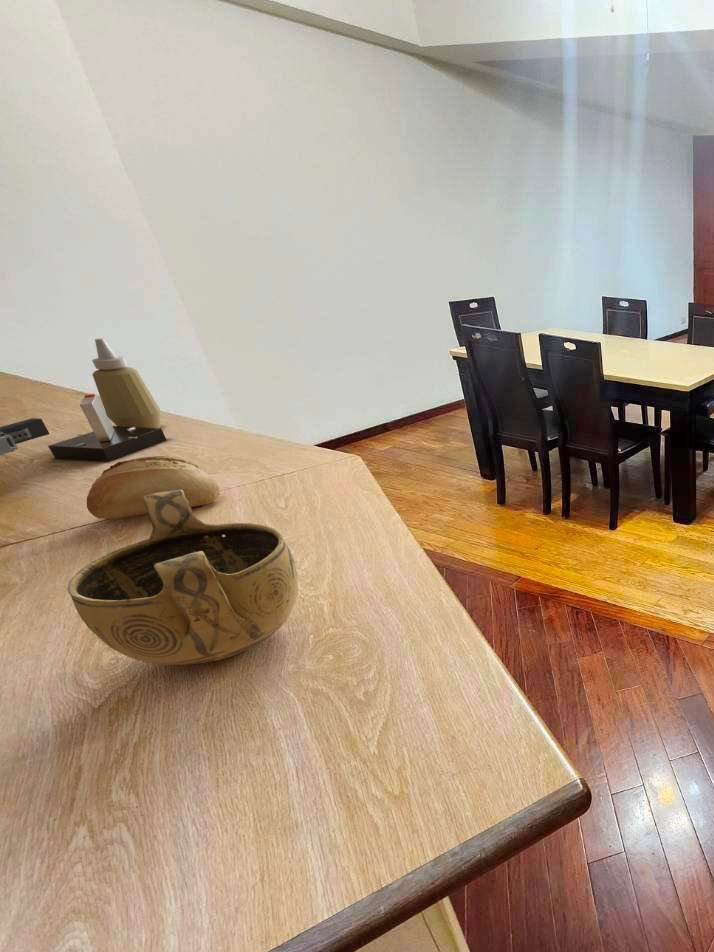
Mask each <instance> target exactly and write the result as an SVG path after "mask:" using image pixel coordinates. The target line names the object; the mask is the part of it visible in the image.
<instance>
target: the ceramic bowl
mask: <svg viewBox="0 0 714 952" xmlns="http://www.w3.org/2000/svg"><path fill="white" fill-rule="evenodd" d="M142 499H143V501H144V504H145V507H146V510H147V512H148V513H147V515H148V517H149V520H150V523H151V528H152V531H151V533H150V534H149V535H150V536H149V537H148V538H146V539H144V540H141V541H137V542H135V543H132V544H129V545H126V546H124V547H121V548H118V549H116V550H114V551H111V552H108V553H107V554H105V555H103V556H101V557H99V558H97V559H94V560H92V561H91V562H89V563H88V564H86V565H85V566H83V567H82V568H81V569H79V571H78V572H76V573H75V574H74V575H73V576H72V577H71V578H70V580H69V581H68V583H67V587H66V588H67V592H68V594H69V596H70V597H71V600H72V603H73V605H74V608H75V610H76V611H77V613H78V615H79V617H80V618H81V620H82V621H83V623H84V624H85V625H86V626H87V629H89V630H90V631H91V632H92V633H93V634H94V635H95V636H96V637H97V638H98V639H99V640H100V641H101V642H103V643H104V644H105V645H106V646H108V647H109V648H110V649H112V650H113V651H116V652H118V653H120V654H122V655H124V656H126V657H128V658H131V659H133V660H136V661H139V662H145V663H149V664H155V665H166V666H167V665H168V666H189V665H196V664H204V663H210V662H215V661H221V660H224V659H227V658H232V657H234V656H237V655H239V654H241V653H244V652H246V651H248V650H249V651H250V650H251V649H252V648H254V647H256V646H258V645H260V644H262V643H263V642H264V641H266V640H267V639H269V638H270V637H271V636H272V635H274V634H275V633H276V632H277V631H278V630H279V629H280V628H282V626H283V625H284V624H285V623H286V621H287V620H288V618H289V617H290V615H291V613H292V611H293V609H294V607H295V604H296V602H297V597H298V592H299V591H298V590H299V581H298V580H299V577H298V571H297V567H296V562H295V559H294V556H293V554H292V551H291V550H290V547H289V546H288V544H287V542H286V541H285V539H284V536H283V535H282V534H281V532H280V531H278V530H277V529H275V528H273V527H272V526H268V525H264V524H259V523H250V522H246V523H245V522H231V523H228V522H227V523H221V524H212V523H206V522H204V521H201V520H200V519H199V518H197V516H196V515H195V512H194V511H193V509H192V507H190V504H189V502H188V500H187V498H186V496H185V494H184V492H183V490H173V491H167V492H160V493H154V494H150V495H147V496H144V497H143V498H142Z"/></svg>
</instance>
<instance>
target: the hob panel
mask: <svg viewBox="0 0 714 952" xmlns="http://www.w3.org/2000/svg"><path fill="white" fill-rule="evenodd" d="M112 427H113V429H114V433H113V436H112V438H111V441H104V442H99V441H98V439H97V437H96V435H95V433H94V431H90V432H87V433H77V434H76V436H75V437H72V438H69V439H65V440H62V441H58V442H56V443H52V444H49V445H48V446H47V447H48V449H49V450H50V452H51V454H52V456H53V458H54V459H55V460H68V461H69V460H71V461H90V462H111V461H114V460H117V459H120V458H122V457H126V456H128V455H131V454H133V453H136V452H139V451H142V450H144V449H147V448H150V447H153V446H155V445H158V444H161V443H164V442H166V441H167V438H166V435H165V433H164V431H163V429H162V428H161V427H160V428H145V427H125V426H116V425H112Z"/></svg>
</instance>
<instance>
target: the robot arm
mask: <svg viewBox="0 0 714 952" xmlns="http://www.w3.org/2000/svg"><path fill="white" fill-rule="evenodd" d="M50 434H51V433H50V432H49V430H48V428H47V426H46V425H45V423H44V421H43V419H42V418H36V417H35V418H34V417H33V418H28V419H25V420H22V421H17V422H14V423H10V424H7V425H3V426H0V457H1V456H3V455H5V454H9V453H13V452H14V451H15V450H17V449H18V445H17V444H22V443H24V442H27V441H31V440H34V439H37V438H42V437H44V436H48V435H50Z"/></svg>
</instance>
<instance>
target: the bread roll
mask: <svg viewBox="0 0 714 952" xmlns="http://www.w3.org/2000/svg"><path fill="white" fill-rule="evenodd" d="M173 490H183V492H184V494H185V496H186V498H187V500H188V502H189V504H190V507H191V508H194V507H200V506H204V505H209V504H211V503H213V502H214V501H216V500H217V499H218V497H219V496H220V495H221V493H220V492H221V489H220V487H219V485H218V483H217V481H216V480H214V479H213V477H212V476H211V475H209V474H208V473H206V472H205V471H204V470H203V469H202V468H200V467H199V466H198V464H196V463H193V462H190V461H188V460H186V459H183V458H180V457H176V456H167V455H165V456H164V455H157V456H154V455H153V456H144V457H138V458H132V459H129V460H128V459H127V460H122V461H117V462H116V463H115V464H113V465H110V466H109V467H108V468H106V469H105V470H103V471H102V473H101V475H100V476H99V477H98V478H96V480H94V482H93V483H92V484H91V487H90V489H89V491H88V494H87V495H86V508H87V510H88V512H89V513H90V514H91V515H92V516H93V517H95V518H97V519H99V520H100V519H102V520H113V519H119V518H126V517H132V516H134V517H135V516H140V515H146V514H147V515H148V512H147V510H146V507H145V504H144V501H143V499H142V498H143V497H144V496H147V495H150V494H154V493H160V492H167V491H173Z"/></svg>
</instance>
